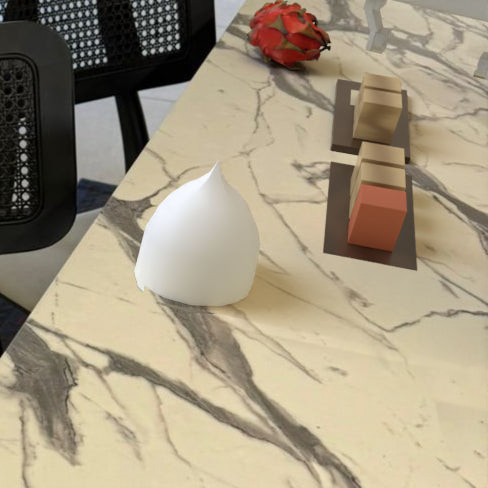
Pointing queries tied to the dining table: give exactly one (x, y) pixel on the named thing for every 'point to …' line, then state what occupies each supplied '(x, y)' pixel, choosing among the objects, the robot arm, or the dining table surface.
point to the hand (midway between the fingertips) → (427, 63)
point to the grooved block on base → (344, 197)
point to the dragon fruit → (287, 34)
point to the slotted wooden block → (370, 114)
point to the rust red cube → (377, 217)
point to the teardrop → (200, 245)
